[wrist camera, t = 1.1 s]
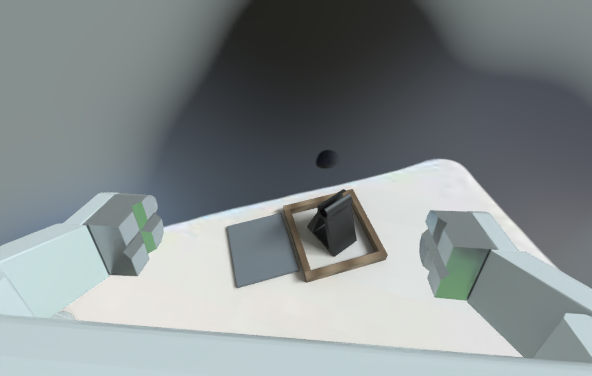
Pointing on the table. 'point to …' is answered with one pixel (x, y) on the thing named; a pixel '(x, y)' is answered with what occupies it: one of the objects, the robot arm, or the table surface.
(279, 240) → the charcoal mat
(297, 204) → the walnut frame
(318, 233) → the phone stand
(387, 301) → the table surface
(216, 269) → the table surface
